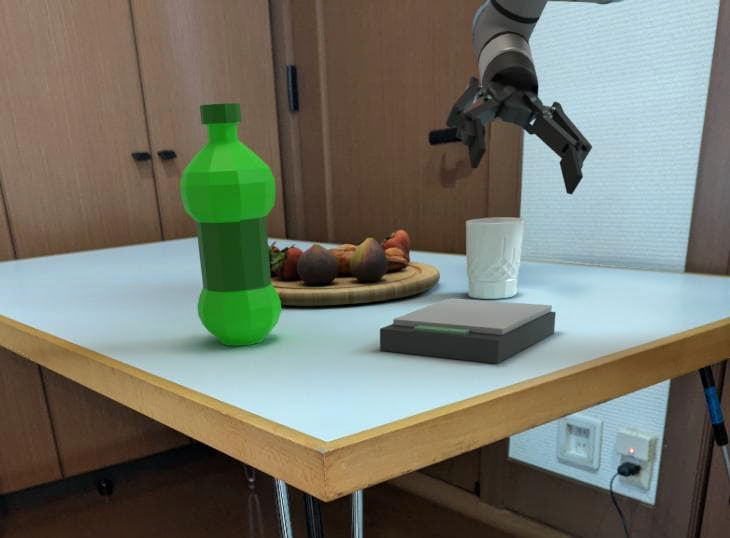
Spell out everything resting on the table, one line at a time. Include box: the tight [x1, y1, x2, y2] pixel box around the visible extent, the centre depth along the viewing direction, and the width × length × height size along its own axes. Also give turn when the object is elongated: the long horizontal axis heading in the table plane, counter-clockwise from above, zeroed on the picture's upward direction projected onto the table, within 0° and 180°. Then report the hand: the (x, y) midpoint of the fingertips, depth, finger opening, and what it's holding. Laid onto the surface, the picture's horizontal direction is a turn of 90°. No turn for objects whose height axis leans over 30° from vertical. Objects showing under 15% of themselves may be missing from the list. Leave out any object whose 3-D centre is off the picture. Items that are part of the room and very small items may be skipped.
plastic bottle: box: [179, 102, 282, 347], centre depth 91 cm, size 10×10×25 cm
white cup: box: [465, 216, 525, 300], centre depth 112 cm, size 8×8×10 cm
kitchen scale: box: [379, 297, 557, 365], centre depth 89 cm, size 14×15×3 cm
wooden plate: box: [268, 229, 441, 307], centre depth 124 cm, size 32×32×8 cm
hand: (527, 172), depth 102 cm, fingers open, 13 cm apart
